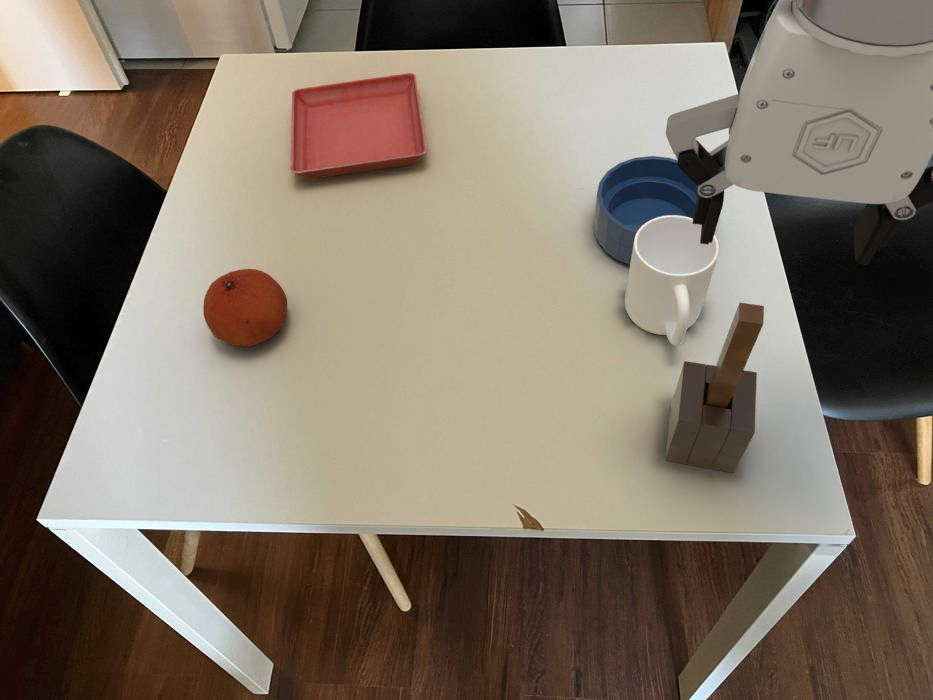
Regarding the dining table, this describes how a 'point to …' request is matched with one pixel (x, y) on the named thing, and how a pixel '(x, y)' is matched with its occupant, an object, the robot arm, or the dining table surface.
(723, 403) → the stick
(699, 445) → the stand
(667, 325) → the cup
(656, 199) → the bowl
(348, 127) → the plant saucer
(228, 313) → the fruit
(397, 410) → the dining table surface
